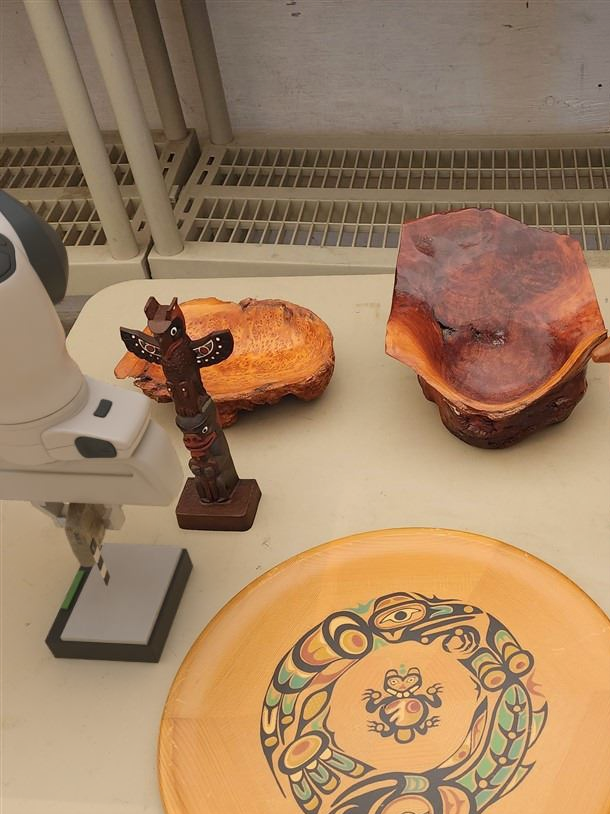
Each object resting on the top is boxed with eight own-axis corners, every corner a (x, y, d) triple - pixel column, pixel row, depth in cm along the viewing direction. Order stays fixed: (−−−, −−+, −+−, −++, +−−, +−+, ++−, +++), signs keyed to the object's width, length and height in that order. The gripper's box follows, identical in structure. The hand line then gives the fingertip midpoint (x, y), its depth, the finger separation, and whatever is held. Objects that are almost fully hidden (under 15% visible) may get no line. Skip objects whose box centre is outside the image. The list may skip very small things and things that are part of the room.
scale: (54, 657, 90) (41, 638, 87) (98, 561, 98) (88, 540, 96) (158, 663, 89) (148, 643, 86) (193, 565, 98) (185, 544, 95)
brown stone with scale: (90, 546, 77) (118, 453, 85) (46, 547, 77) (78, 454, 85) (107, 586, 81) (132, 494, 89) (66, 587, 81) (95, 495, 89)
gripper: (-96, 436, 72) (-27, 544, 82) (144, 445, 71) (185, 553, 81) (-60, 388, 76) (2, 496, 86) (167, 396, 75) (203, 504, 85)
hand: (92, 524), depth 84 cm, fingers closed on brown stone with scale, 3 cm apart
